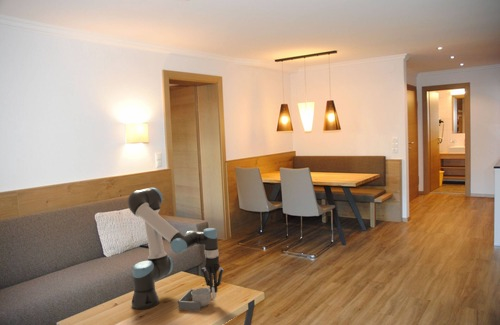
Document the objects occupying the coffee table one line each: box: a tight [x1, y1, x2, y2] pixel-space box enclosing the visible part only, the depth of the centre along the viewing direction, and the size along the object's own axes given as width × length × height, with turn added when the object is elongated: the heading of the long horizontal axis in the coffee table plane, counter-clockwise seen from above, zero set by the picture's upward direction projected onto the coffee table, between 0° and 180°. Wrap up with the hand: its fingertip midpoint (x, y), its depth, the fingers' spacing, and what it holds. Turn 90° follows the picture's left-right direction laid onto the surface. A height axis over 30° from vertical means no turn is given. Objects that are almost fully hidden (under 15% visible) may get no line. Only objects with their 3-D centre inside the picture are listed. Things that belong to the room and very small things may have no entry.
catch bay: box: [177, 288, 212, 312], centre depth 230 cm, size 13×18×4 cm
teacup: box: [191, 286, 212, 308], centre depth 228 cm, size 14×11×8 cm
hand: (214, 297), depth 226 cm, fingers closed
